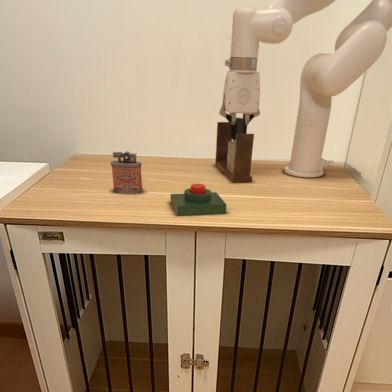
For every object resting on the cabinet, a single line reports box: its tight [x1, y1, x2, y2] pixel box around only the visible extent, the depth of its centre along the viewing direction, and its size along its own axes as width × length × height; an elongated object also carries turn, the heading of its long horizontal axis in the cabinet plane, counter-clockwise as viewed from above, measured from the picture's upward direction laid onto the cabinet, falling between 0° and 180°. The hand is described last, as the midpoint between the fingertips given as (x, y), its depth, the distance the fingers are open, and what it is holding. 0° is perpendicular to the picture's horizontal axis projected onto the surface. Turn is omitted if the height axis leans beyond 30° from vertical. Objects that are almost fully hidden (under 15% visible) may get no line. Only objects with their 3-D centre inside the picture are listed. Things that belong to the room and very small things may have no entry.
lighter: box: [110, 150, 144, 194], centre depth 109 cm, size 8×3×10 cm, turn 88°
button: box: [190, 183, 206, 194], centre depth 100 cm, size 4×4×2 cm
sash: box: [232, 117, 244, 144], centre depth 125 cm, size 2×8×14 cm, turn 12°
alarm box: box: [170, 187, 227, 217], centre depth 101 cm, size 12×10×4 cm
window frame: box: [214, 121, 255, 184], centre depth 127 cm, size 6×22×13 cm, turn 12°
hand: (237, 138), depth 124 cm, fingers closed on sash, 2 cm apart
